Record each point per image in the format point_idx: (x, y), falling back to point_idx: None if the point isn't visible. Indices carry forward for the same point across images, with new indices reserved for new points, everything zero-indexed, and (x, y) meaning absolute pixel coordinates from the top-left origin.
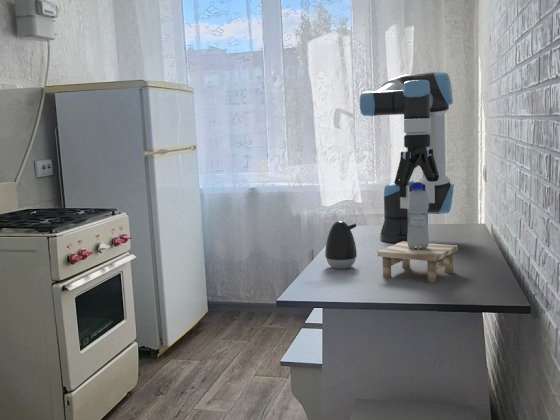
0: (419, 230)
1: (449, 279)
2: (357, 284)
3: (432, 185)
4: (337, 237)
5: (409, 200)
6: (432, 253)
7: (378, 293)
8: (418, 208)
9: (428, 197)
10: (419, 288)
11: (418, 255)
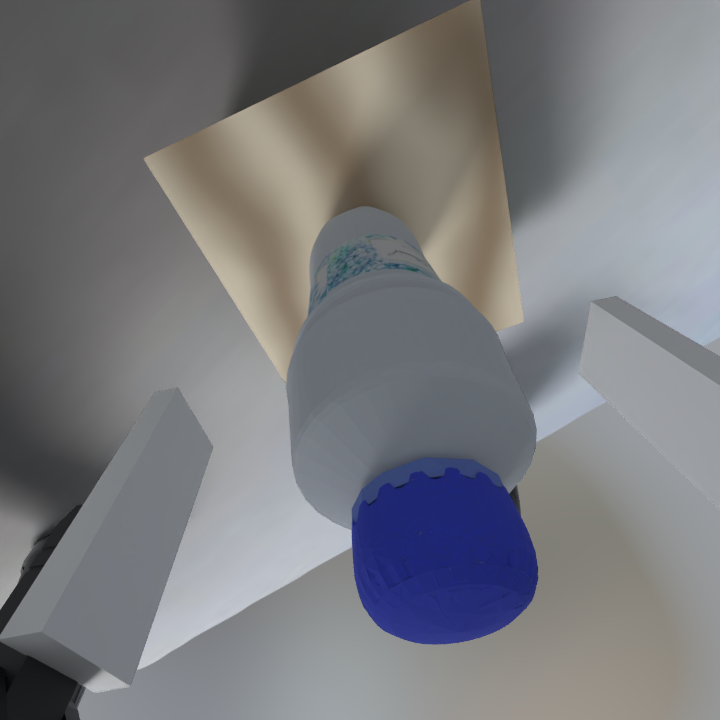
0: (411, 242)
1: (324, 57)
2: (595, 257)
3: (88, 566)
4: (515, 491)
5: (649, 340)
6: (419, 90)
7: (681, 103)
8: (466, 300)
9: (184, 463)
10: (536, 34)
11: (496, 121)
